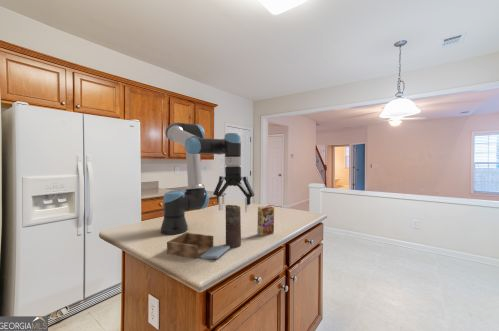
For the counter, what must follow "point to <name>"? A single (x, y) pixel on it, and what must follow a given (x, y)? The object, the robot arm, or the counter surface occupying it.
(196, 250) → the box
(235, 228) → the candle
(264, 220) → the candy box
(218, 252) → the panel
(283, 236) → the counter surface
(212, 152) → the robot arm
